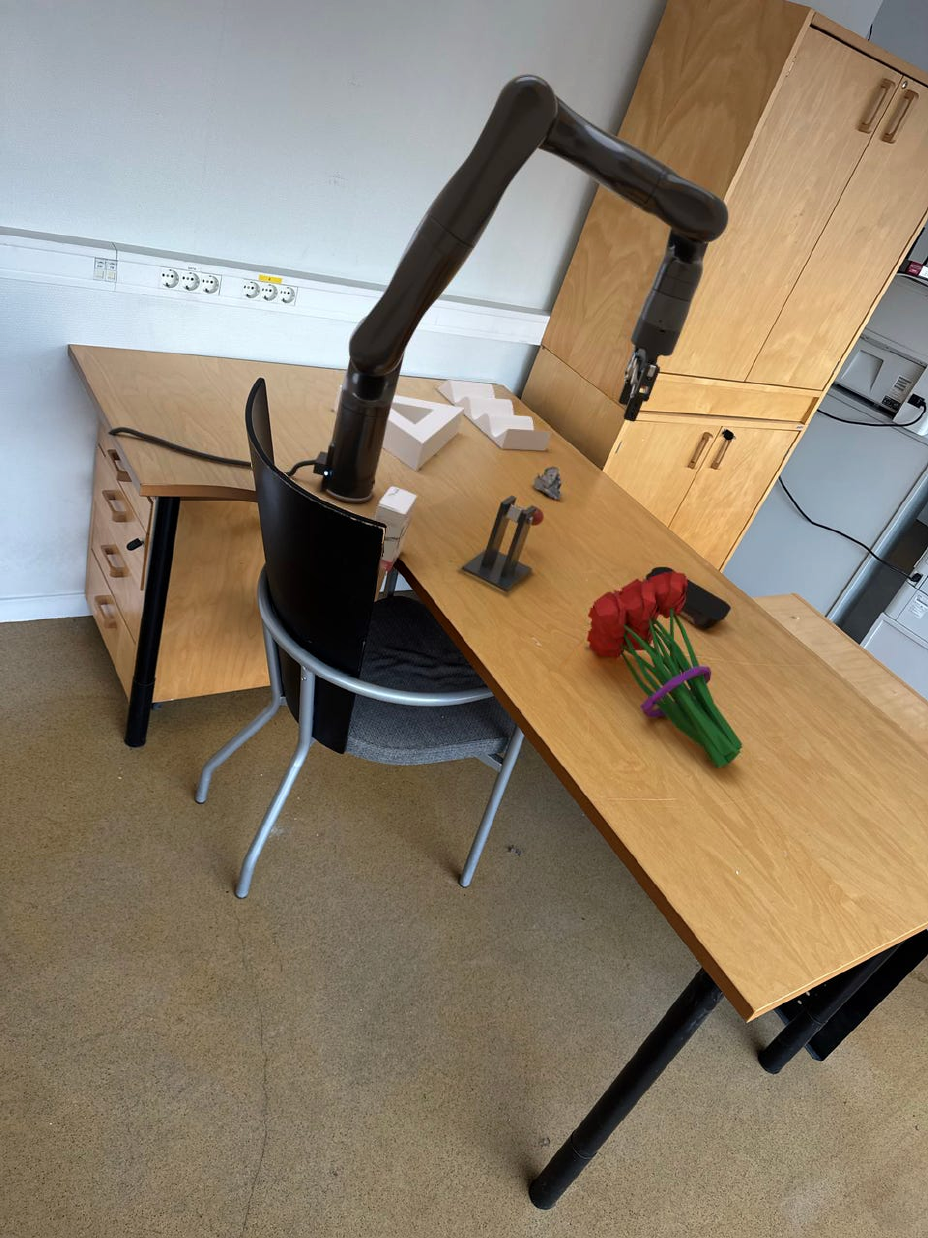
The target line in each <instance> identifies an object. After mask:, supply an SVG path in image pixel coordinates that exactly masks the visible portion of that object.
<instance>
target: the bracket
mask: <svg viewBox="0 0 928 1238" xmlns="http://www.w3.org/2000/svg"><path fill="white" fill-rule="evenodd" d="M516 501H517V496H514V495H510V496H509V497H507V498H505V499H503V500H502V501H501V502H500V504H499V508H498V510H497V514H496V516H495V520H494V523H493V526H492V529H491V531H490V535H489V538H488V542H487V544H486V547H485V550H484V551H482V552H481V553H479V554H478V555H476V556H475V557H473V558H472V559H471V560H469V561H468V562H466V563H465V564H464V565H463V566H461V570H462V571H464V572H467V573H468V574H470V575H472V576H474V577H476V578H477V579H478V578H479V579H480V580H482V581H483V582H486V583H488V584H490V585H491V586H494V587H496V588H498V589H499V590H501V591H503V592H505V593H508V591H510V590H511V589H512V588H513V587H514V586H516V585H517V584H518V583H519V582H520V581H521V580H523V579H524V578H525V577H526V576H527V575H529V574H530V573H531V572H532V570H533V568H532V567H531V566H529V565H527V564H524V563H523V562H521V561H520V557H521V554H522V552H523V549H524V546H525V543H526V540H527V538H528V534H529V531H530V529H531V526H532V525H531V523H532V522H533V518H534V515H535V512H536V509H537V508H538V506H536V505H533V504H531V505H530V506H528V507H527V508H526V509H525V510H524V511H523V512H522V513H521V516H520V519H519V522H518V523H517V525H516V528H515V531H514V533H513V536H512V540H511V542H510V546H509V549H508V551H507V554H505V553H502V552H500V548H501V546H502V544H503V543H502V542H503V540H504V537H505V534H506V532H507V529H508V526H509V523H510V519H508V518H506V515H507V513H508V511H509V508H510V506H511V505H515V504H516Z"/></svg>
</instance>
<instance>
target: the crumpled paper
mask: <svg viewBox="0 0 928 1238" xmlns="http://www.w3.org/2000/svg"><path fill="white" fill-rule="evenodd" d="M562 483H563V480H562V478H561V474H560V472H559V468H558V467H556V466H550V467H546V469H544V472H543V474H542V475H540V472H537V476H536V477H535V478H534V483H533V484H534V485H533V488H534V490H537V491H539V492H542V493H544V494H545V495H547V496H548V497H549V498H552V499H555V500H560V499H561V497H562V492H561V490H560V489H561V486H562Z"/></svg>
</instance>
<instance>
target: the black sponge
mask: <svg viewBox="0 0 928 1238" xmlns="http://www.w3.org/2000/svg"><path fill="white" fill-rule="evenodd" d="M673 571H675V570H674V569H673V568H671V567H668V566H656V567H652V569H651V571H650V572H649V573H647V574H645V579H646V580H648V581H649V578H650V577H653V576H656V575H659V574H662V573H665V572H668V573H669V572H673ZM731 609H732V607H731V605H729V603H727V602H726V601H725V600H724V599H722V598H720V597H719V596H717V595H715V594H714V593H711V592H710V591H709V590H706V589H705V588H703V587H702V586H699V584H696V583H695V582H693V581H691V580H689V578H687V589H686V602H685V603H684V605H683V607H682V608H681V610H682V611H683V612H681V613H679V614H678V615H679V616H680V617H682V618H683V619H686V621H688V622H690V623H692V624H693V625H694V626H696V627H697V628H699V629H702V630H709V629H711V628H713V627H715V626H716V625H717V624H718V623H719V622H721V621H724V620H725V619H726V618H727V616H728V614H729V613H730V611H731Z"/></svg>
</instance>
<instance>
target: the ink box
mask: <svg viewBox="0 0 928 1238" xmlns="http://www.w3.org/2000/svg"><path fill="white" fill-rule="evenodd" d="M417 499H418V494H416V493H413V492H411V491H408V490H405V489H404V488H401V487H398V486H393V485H391V486H389V488H388V489H387V490H386V492H384V495H383V496H382V497H381V498H380V499H379V501H378V504H377V506H376V511H375V513H374V518H373V521H374V520H375V521H378V522H382V523H384V524H385V525H386V526H387V528H386V534H385V541H384V553H383V557H382V560H381V568H380V569H379V570H380V571H384V572H387V573H388V572H390V570H392V567H393V566H394V564H395V562H396V561H397V559H398V558H399V556H400V554H401V552H402V549H403V546H404V543H405V540H406V536H407V533H408V529H409V526H410V522H411V519H412V515H413V512H414V509H415V506H416V502H417Z"/></svg>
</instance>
